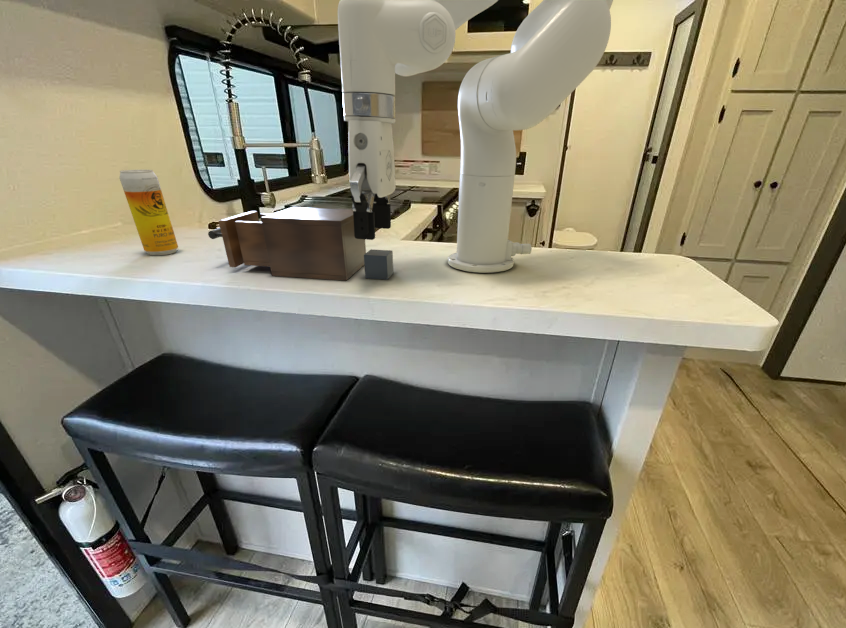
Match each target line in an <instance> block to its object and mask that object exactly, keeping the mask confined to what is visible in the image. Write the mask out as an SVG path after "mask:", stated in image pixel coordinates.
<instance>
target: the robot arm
mask: <svg viewBox="0 0 846 628" xmlns="http://www.w3.org/2000/svg"><path fill="white" fill-rule="evenodd" d="M498 1H499V0H339V2H338V5H337V29H338V30H337V31H338V45H339V60H340V77H341V92H342V108H343V122H348V133H347V134H348V137H347V138H348V141H347V142H348V143H347V144H348V145H347V146H348V150H347V153H348V174H349V175H348V176H349V177H348V178H349V187H350V192H351V196H350V199H351V203H352V204H351V205H352V206H351V209H352V210H353V219H354V236H355V238H356V239H365V241H366V240H369V241H373V240H375V239H376V229H384V230H385V229H386V230H389V229H391V227H392V213H391V212H392V211H391V206H392V205H391V195H392V194H393V193H394V192H395V191H396V188H397V187H396V163H395V160H396V159H395V145H394V134H393V127H392V124H396V75H398V76H401V77H411V76H416V75H418V74H423V73H426V72H427V73H428V72H430V71H433V70H436V69H437V68H439V67H441V66H442V65H443V64H445V63H446V62H447V60H448V59H449V58H450V56H451V55H452V53H453V50H454V48H455V44H456V31H457V30H458V29H459V28H461V26H463V25H464V24H465V23H466V22H468V21H469V20H471V19H472V18H474V17H475V16H477V15H478V14H480V13H482V12H484V11H485V10H487V9H489V8H490V7H492V6H493V5H494V4H496V3H497V2H498ZM613 2H614V0H542V1H541V2H540V3H539V4H538V5H537V6H536V7H534V9H532V10H531V12H530V13H529V14H527V16H526V17H525V18H524V19H523V20H522V22H521V23H520V25H519V26H518V27H517V30H516V31H515V33H514V35H513V38H512V42H511V46H510V53H506V54H500V55H497V56H496V55H495V56H493V57H489V58H486V59H483V60H481V61H479V62H477V63H476V64H474V65H473V66H472V67H471V68H470V69H469V70H468V71H467V72H466V74H465V75H464V77H463V79H462V80H461V83H460V86H459V89H458V95H457V115H458V123H459V136H460V137H459V138H460V162H459V163H460V164H459V165H460V166H459V184H458V206H457V209H458V210H457V232H456V252H453V253H452V254H450V255H449V256H448V257H447V263H448V265H449V266H451V267H452V268H454V269H457V270H459V271H463V272H464V271H465V272H470V273H480V274H481V273H486V274H487V273H501V272H504V271H508V270H511V269H512V268H513V267H514V264H515V263H514V262H515V259H514V258H513V257H515V256H516V255H530V254H531V253H532V248H533V247H532V244H531V243H520V242H513V241H512V240H510V239H509V233H510V223H511V215H512V205H513V204H512V203H513V195H514V194H513V193H514V186H515V185H514V183H515V175H516V167H517V147H516V139H515V135H514V131H524V130H529V129H531V128H534V127H536V126H538V125H539V124H540V123H542V122H543V121H544V120H545V119H547V118H548V117H549V116H550V115H551V114H552V113H553V112H555V110H556V109H557V108H558V107H559V106H561V104H563V102H564V101H565V100H566V99H567V98H568V97H570V95H571V94H572V93H573V92H574V91H575V90H576V89H577V88H578V87H579V86H580V85H581V84H582V83H583V82H584V81H585V80H586V78H587V77H589V75H591V73H592V72H593V71H594V70H595V69H596V67H597V66H598V65H599V63H600V61H601V60H602V58H603V56H604V53H605V52H606V49H607V47H608V43H609V40H610V36H611V30H612V17H611V15H612V14H611V11H610V10H611V8H612V5H613Z"/></svg>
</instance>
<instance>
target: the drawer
mask: <svg viewBox="0 0 846 628" xmlns="http://www.w3.org/2000/svg"><path fill="white" fill-rule="evenodd" d="M270 214H271V213H267V212H266V213H265V212H262V213H258V211H257V210H250V211H247V212H243V213H239V214H236V215H233V216H230V217H225V218H222V219H219V220H218V224H219V227H218V228H215V229H212V230H209V231H208V233H207V235H208V238H210V239H211V240H215V239H218V238H222V242H223V246H224V249H225V253H226V254H225V255H226V257H227V258H226V259H227V262H228V266H229V268H237V267H239V266H241V265H244V266H251V267H252V266H253V267H269V268H270V263H269V258H268V252H267V247H266V242H265V237H264V231H263V226H262V221H261V220H259V219H260V218H261V217H264V216H267V215H270ZM259 217H260V218H259Z"/></svg>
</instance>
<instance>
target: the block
mask: <svg viewBox="0 0 846 628" xmlns="http://www.w3.org/2000/svg"><path fill="white" fill-rule="evenodd" d="M393 252H394V251H393V250H390V249H389V250H387V249H372V248H371V249H369V250H368V251H366V254H364V276H365V279H371V280H386V281H387V280H389V279H390V278H391V277H392V276H393V274H394V255H393V254H394V253H393Z"/></svg>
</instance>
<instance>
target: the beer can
mask: <svg viewBox="0 0 846 628" xmlns="http://www.w3.org/2000/svg"><path fill="white" fill-rule="evenodd" d="M158 177H159V176H157V174H156V173H155V172H154V170H153V169H124V170H123V169H122V170H119V181H120V183H121V186H122V190H123V192H124V196H125V199H126V202H127V204H128V207H129V210H130V214H131V216H132V219H133V222H134V224H135V228H136V230H137V231H136V232H137V234H138V236H139V239H140V241H141V242H140V243H141V245H142V248H143V250H144V252H146V253H147V254H148V255H149V256H169V255H172V254H175V253H177V250H178V248H179V244H178V240H177V238H176V237H177V236H176V234H175V231H174V228H173V224H172V221H171V218H170V215H169V210H168V208H167V204H166V201H165V198H164V194H163V190H162V188H161V184H160V181H159V178H158Z"/></svg>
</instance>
